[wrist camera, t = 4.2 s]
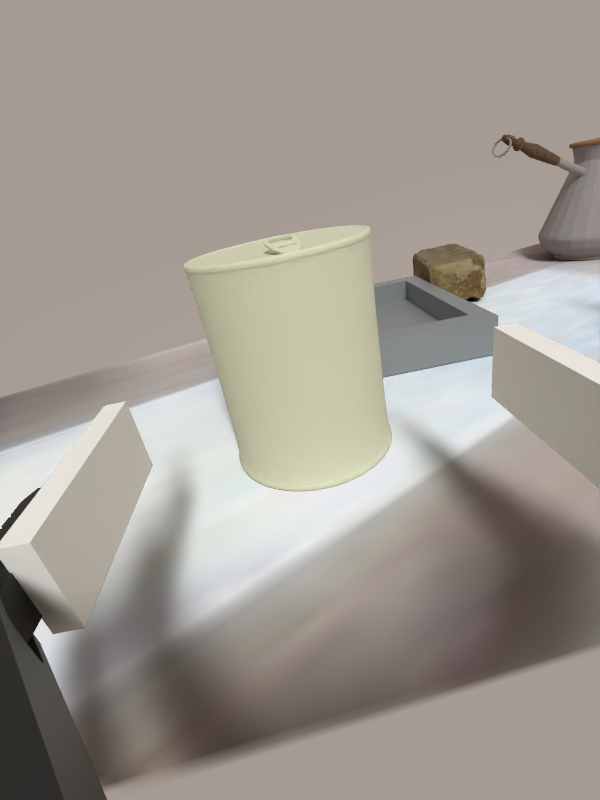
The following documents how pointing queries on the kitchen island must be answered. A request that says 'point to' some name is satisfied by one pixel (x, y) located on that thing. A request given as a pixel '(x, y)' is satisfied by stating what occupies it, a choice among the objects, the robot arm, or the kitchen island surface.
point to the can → (297, 354)
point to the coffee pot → (570, 200)
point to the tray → (428, 326)
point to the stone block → (452, 270)
